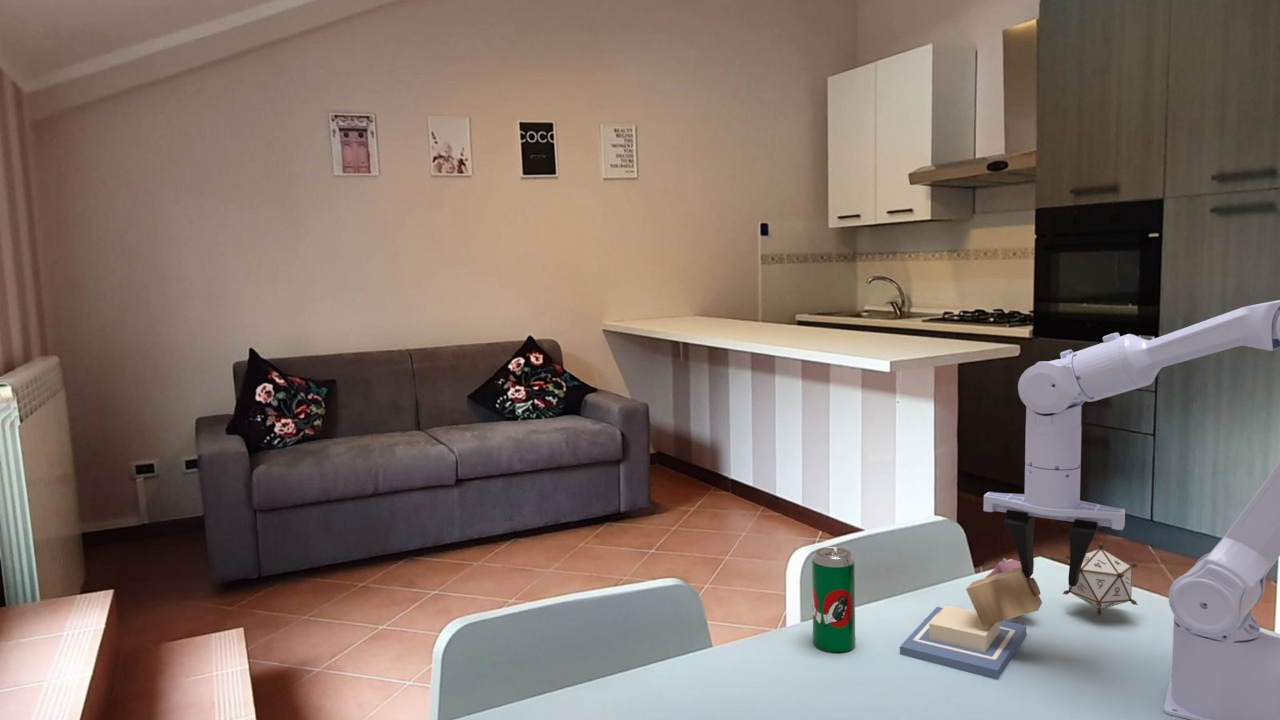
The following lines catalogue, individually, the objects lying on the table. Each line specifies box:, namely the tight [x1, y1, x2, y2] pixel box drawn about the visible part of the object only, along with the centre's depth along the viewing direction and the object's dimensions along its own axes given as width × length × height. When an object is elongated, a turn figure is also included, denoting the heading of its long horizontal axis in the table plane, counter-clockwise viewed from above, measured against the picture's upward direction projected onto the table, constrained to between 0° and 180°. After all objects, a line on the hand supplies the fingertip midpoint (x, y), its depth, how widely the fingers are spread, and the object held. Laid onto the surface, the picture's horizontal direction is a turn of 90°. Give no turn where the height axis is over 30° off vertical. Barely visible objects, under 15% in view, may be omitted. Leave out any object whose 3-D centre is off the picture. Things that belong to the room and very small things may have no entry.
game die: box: [1062, 541, 1139, 617], centre depth 108 cm, size 9×8×10 cm
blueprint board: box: [899, 605, 1027, 680], centre depth 101 cm, size 11×14×3 cm
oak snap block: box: [965, 567, 1043, 626], centre depth 98 cm, size 4×4×7 cm
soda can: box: [811, 546, 856, 654], centre depth 101 cm, size 5×5×12 cm
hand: (1050, 579), depth 96 cm, fingers open, 4 cm apart
